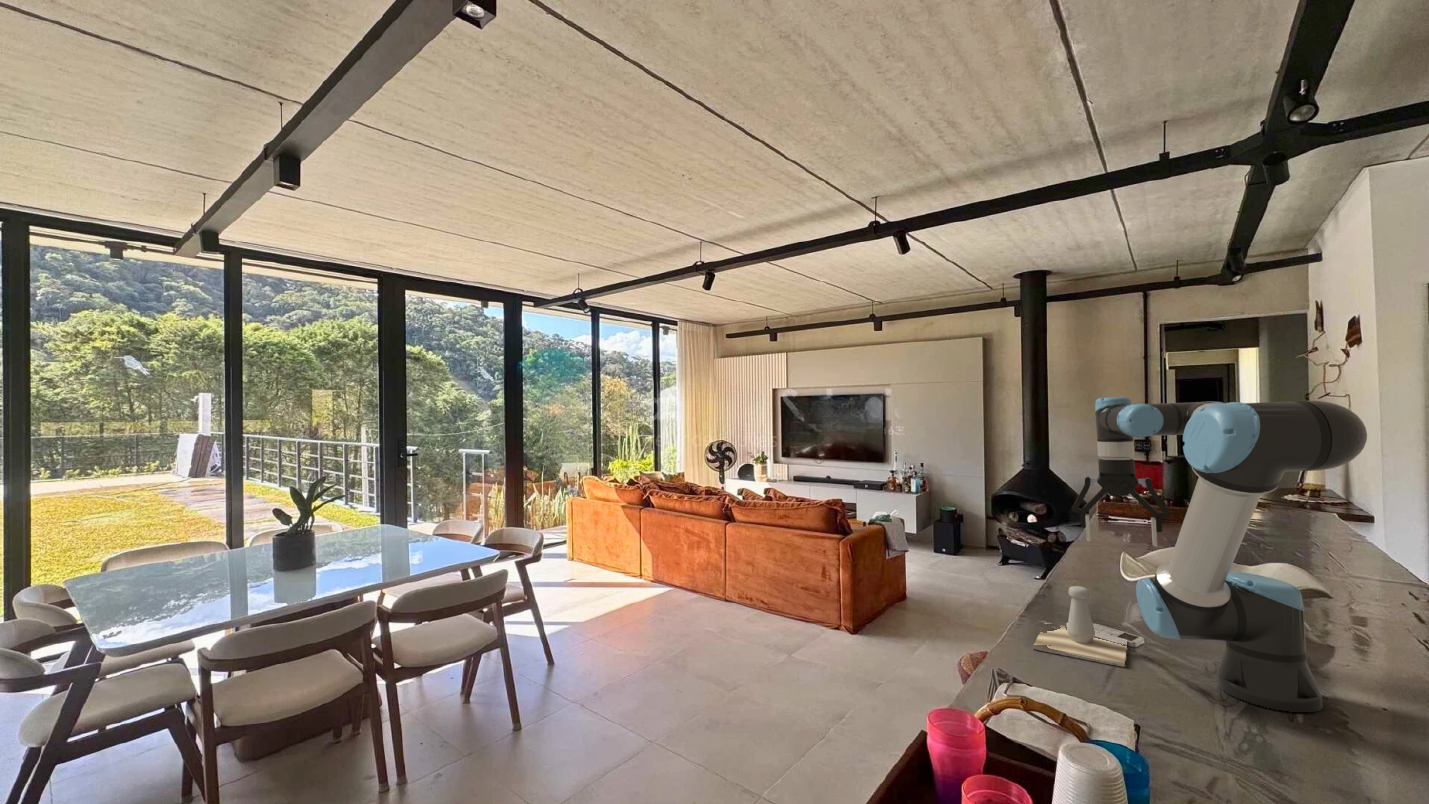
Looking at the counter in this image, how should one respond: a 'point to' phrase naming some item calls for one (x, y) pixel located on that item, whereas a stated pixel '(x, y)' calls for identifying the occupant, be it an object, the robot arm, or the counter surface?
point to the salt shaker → (1080, 616)
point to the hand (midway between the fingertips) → (1120, 542)
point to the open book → (1083, 646)
